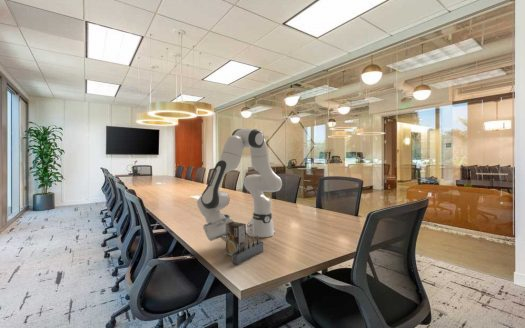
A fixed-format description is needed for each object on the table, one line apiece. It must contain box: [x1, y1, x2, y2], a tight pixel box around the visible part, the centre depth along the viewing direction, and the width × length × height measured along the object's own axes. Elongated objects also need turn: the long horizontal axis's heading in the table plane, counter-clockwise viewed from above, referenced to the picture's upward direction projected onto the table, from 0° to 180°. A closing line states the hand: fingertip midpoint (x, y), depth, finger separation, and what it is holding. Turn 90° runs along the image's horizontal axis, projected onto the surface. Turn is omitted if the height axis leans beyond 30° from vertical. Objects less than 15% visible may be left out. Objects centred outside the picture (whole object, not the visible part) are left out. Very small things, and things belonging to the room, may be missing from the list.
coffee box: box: [225, 221, 247, 257], centre depth 134 cm, size 9×6×16 cm
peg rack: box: [231, 235, 264, 266], centre depth 130 cm, size 3×22×9 cm, turn 146°
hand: (229, 242), depth 137 cm, fingers closed, pressing on coffee box
